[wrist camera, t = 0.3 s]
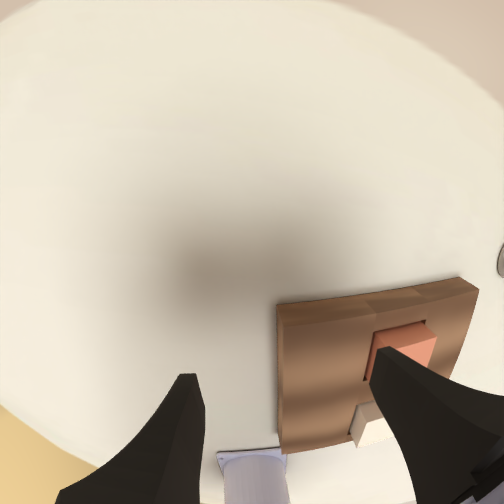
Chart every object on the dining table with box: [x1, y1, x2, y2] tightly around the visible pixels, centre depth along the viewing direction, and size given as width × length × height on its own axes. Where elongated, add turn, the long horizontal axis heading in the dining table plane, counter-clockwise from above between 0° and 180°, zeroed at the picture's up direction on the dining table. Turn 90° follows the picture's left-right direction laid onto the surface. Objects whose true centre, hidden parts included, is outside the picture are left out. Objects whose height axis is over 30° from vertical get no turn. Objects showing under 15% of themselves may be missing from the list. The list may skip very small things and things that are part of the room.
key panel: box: [276, 277, 479, 455], centre depth 21 cm, size 16×18×3 cm
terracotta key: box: [364, 321, 437, 382], centre depth 18 cm, size 4×4×4 cm
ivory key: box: [349, 400, 394, 448], centre depth 21 cm, size 4×4×4 cm
